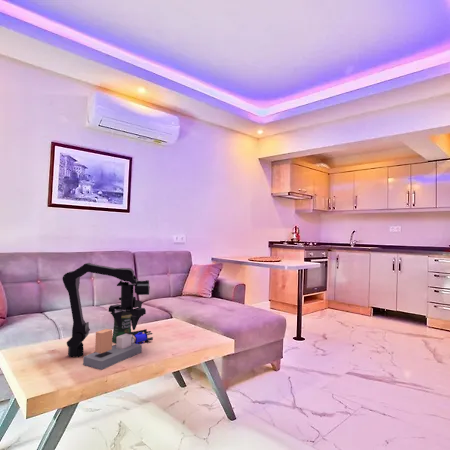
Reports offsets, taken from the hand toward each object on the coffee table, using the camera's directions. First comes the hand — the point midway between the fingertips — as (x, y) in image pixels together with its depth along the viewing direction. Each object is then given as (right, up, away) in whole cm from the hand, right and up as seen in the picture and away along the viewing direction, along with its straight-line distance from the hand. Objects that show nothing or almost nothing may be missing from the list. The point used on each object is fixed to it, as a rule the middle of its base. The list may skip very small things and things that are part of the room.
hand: (126, 328), depth 158 cm
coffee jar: (-8, -13, +18) cm, 23 cm away
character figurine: (+2, -13, +15) cm, 20 cm away
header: (-4, -12, -7) cm, 15 cm away
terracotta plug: (-6, -6, -12) cm, 15 cm away
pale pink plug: (-1, -12, -2) cm, 12 cm away
